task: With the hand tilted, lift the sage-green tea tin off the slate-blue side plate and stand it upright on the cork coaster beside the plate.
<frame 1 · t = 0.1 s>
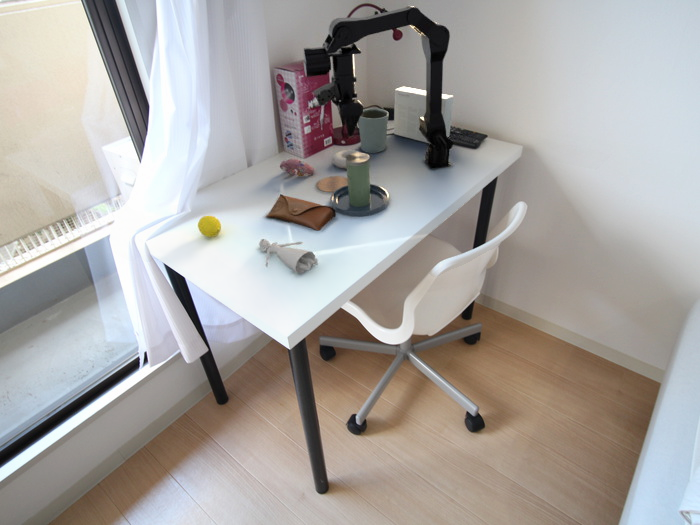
hand: (347, 130, 124), 15 cm above the table, tool pointing down, fingers open, 9 cm apart
woman figurine: (287, 260, 101), on the table
plate: (359, 203, 120), on the table
tea tin: (359, 201, 120), resting on plate
coaster: (333, 185, 129), on the table
video game controller: (297, 175, 136), on the table
lemon: (212, 235, 111), on the table
grey-green cup: (374, 148, 150), on the table
sunglasses case: (300, 218, 116), on the table
skincare box: (420, 138, 154), on the table
donut: (348, 164, 141), on the table
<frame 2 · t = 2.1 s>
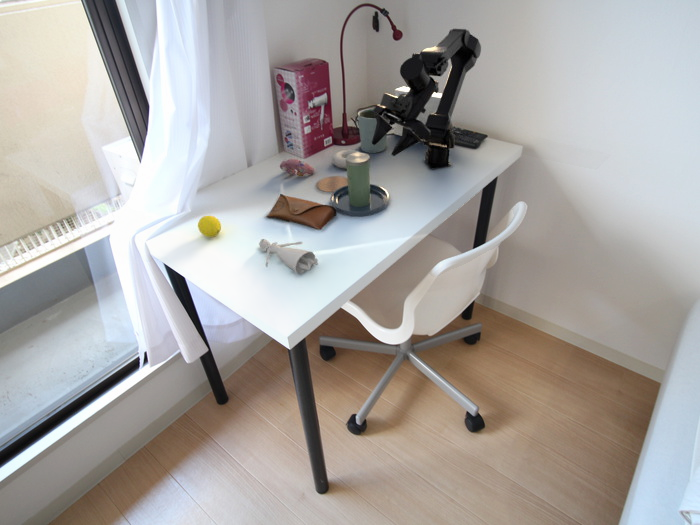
hand: (382, 149, 115), 13 cm above the table, tool tilted 45°, fingers open, 9 cm apart
nothing on the table moved.
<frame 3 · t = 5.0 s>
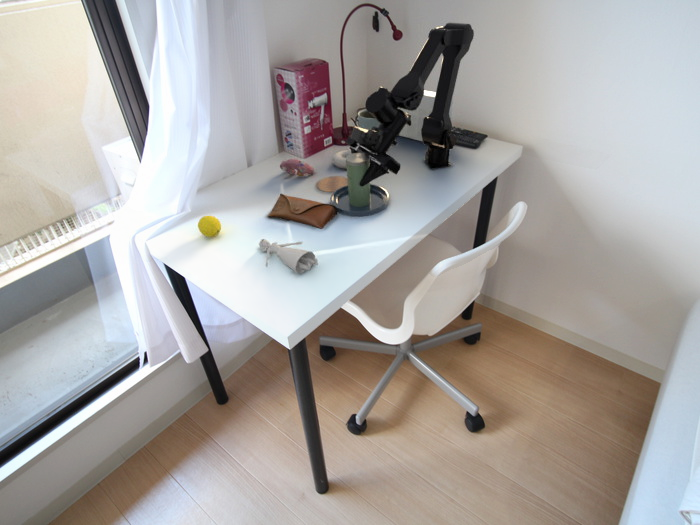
hand: (354, 181, 115), 7 cm above the table, tool tilted 45°, fingers closed on tea tin, 6 cm apart
tea tin: (359, 201, 120), point 1 cm above the table, touching gripper, plate
everything else where it was.
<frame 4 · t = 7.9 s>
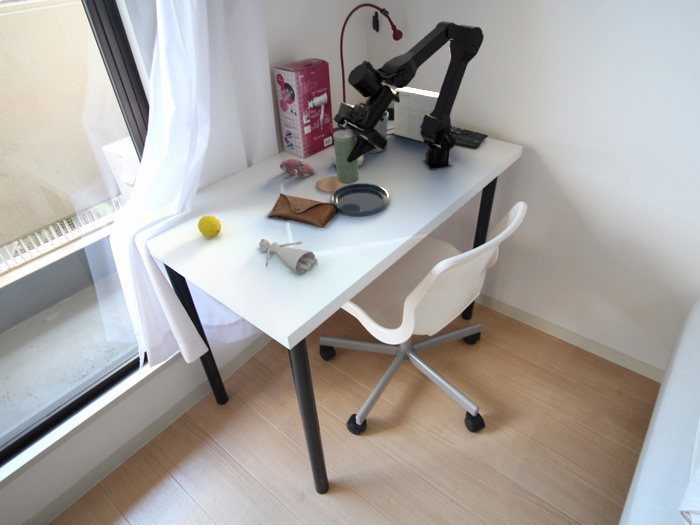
hand: (342, 157, 116), 12 cm above the table, tool tilted 45°, fingers closed on tea tin, 6 cm apart
tea tin: (348, 178, 120), point 5 cm above the table, touching gripper
everything else where it was.
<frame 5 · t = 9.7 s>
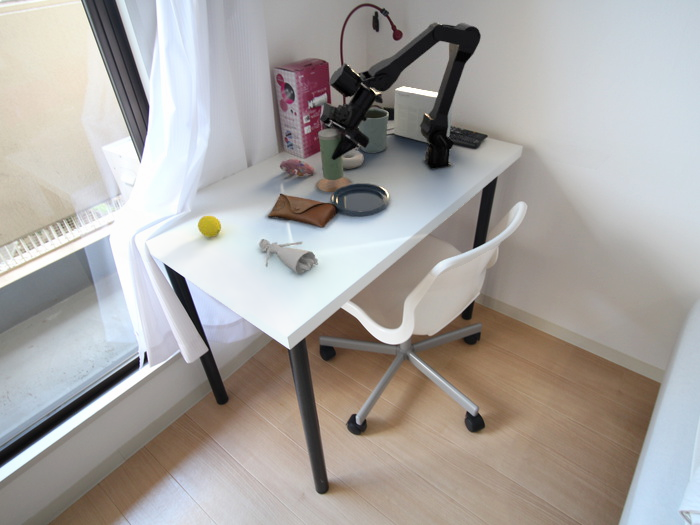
hand: (327, 155, 123), 10 cm above the table, tool tilted 45°, fingers closed on tea tin, 6 cm apart
tea tin: (333, 175, 127), point 3 cm above the table, touching gripper
everything else where it was.
when the fingers open (7 cm above the table, at t = 11.0 s): tea tin stays where it is, resting on coaster.
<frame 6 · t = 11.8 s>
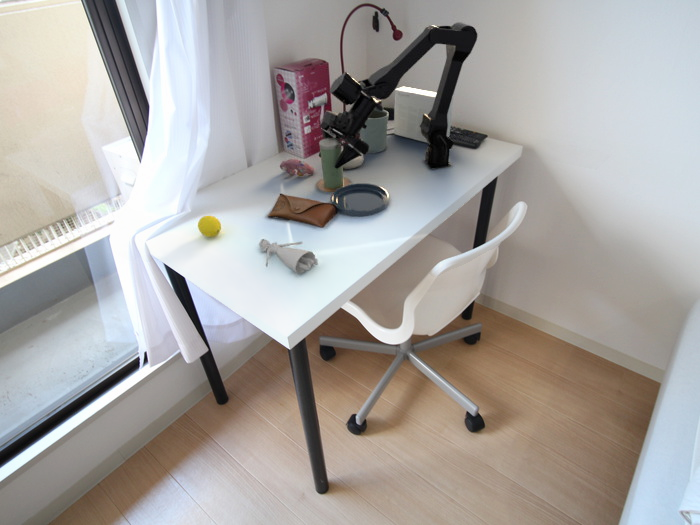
hand: (327, 162, 124), 8 cm above the table, tool tilted 45°, fingers open, 9 cm apart
tea tin: (333, 183, 129), point 1 cm above the table, touching coaster
everything else where it was.
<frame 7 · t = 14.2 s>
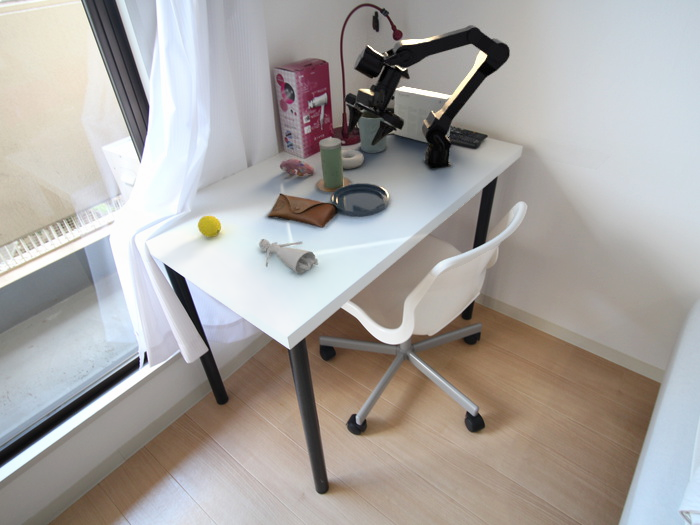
hand: (360, 139, 125), 12 cm above the table, tool tilted 35°, fingers open, 9 cm apart
nothing on the table moved.
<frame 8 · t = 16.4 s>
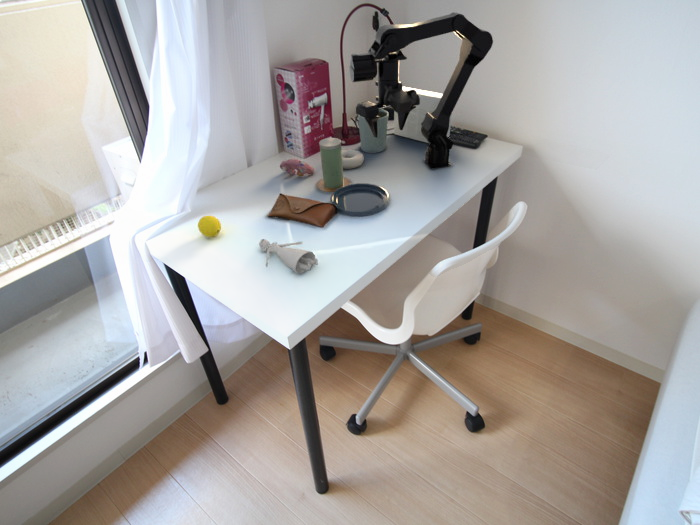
hand: (388, 133, 128), 12 cm above the table, tool pointing down, fingers open, 9 cm apart
nothing on the table moved.
at the end: tea tin touching coaster; tea tin 0.0 cm off-centre on the coaster, point 0.6 cm above the coaster's base; tea tin tilted 0° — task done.
